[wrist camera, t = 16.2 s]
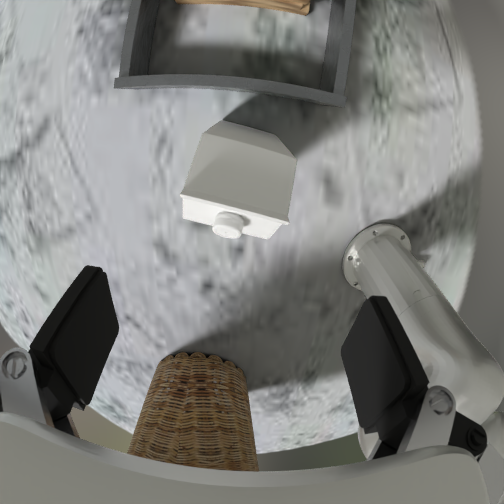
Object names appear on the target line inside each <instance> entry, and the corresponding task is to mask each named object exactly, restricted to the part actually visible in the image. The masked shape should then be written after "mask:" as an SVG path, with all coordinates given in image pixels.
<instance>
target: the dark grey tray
mask: <svg viewBox="0 0 504 504" xmlns="http://www.w3.org/2000/svg"><path fill="white" fill-rule="evenodd" d="M159 3H160V0H132V2H131V6H130V11H129V15H128V20H127V25H126V31H125V36H124V42H123V49H122V56H121V63H120V72H119V78H115V82H114V88H117V89H152V88H198V89H218V90H231V91H242V92H251V93H259V94H266V95H273V96H280V97H286V98H291V99H297V100H302V101H307V102H312V103H317V104H321V105H325V106H335V107H345V105H346V99H347V97H345V96H344V92H345V86H346V79H347V73H348V66H349V59H350V52H351V44H352V36H353V28H354V18H355V8H356V0H332V4H331V12H330V20H329V28H328V36H327V43H326V50H325V57H324V64H323V71H322V77H321V84H320V90H317V89H313V88H308V87H303V86H298V85H293V84H288V83H282V82H275V81H269V80H262V79H254V78H245V77H234V76H221V75H201V74H162V75H148V67H149V59H150V52H151V45H152V39H153V33H154V28H155V22H156V17H157V12H158V7H159Z"/></svg>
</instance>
